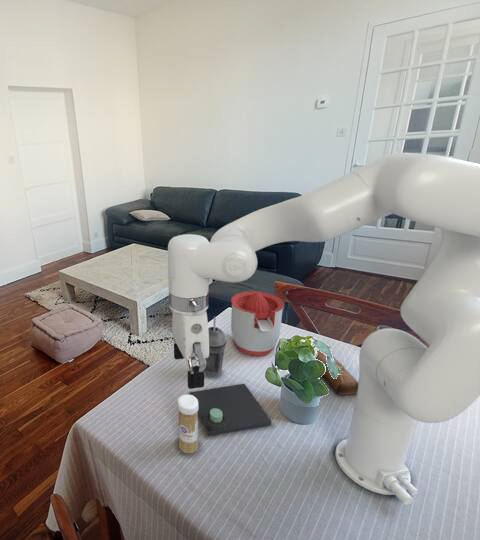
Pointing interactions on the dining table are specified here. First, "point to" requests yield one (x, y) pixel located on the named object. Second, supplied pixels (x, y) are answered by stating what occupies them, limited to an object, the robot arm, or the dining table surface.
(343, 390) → the brown leather shoe
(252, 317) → the citrus juicer
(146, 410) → the dining table surface
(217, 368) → the beverage cup
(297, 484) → the dining table surface
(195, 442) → the sprinkles bottle
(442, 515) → the dining table surface
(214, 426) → the scale
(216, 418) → the tare button
